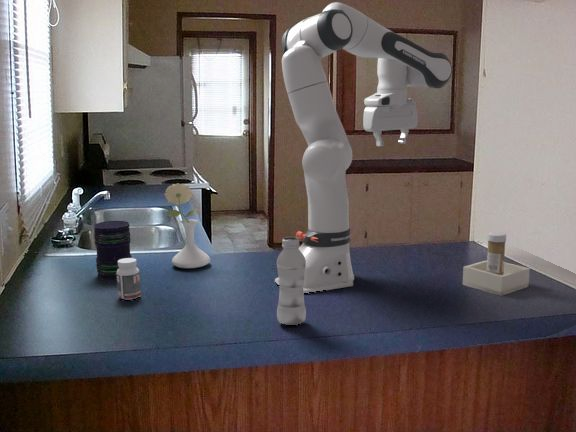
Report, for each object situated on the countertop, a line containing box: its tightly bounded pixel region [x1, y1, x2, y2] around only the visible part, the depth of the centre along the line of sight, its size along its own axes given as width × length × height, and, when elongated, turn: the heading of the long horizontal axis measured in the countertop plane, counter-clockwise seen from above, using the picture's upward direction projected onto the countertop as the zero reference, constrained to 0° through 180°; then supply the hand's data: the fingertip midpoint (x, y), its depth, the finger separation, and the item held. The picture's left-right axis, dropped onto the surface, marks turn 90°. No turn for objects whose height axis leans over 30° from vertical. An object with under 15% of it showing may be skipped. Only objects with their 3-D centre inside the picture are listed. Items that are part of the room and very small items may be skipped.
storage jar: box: [93, 220, 133, 281], centre depth 190 cm, size 10×10×15 cm
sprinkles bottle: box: [486, 231, 507, 275], centre depth 176 cm, size 5×5×14 cm
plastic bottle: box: [276, 236, 307, 326], centre depth 151 cm, size 6×7×20 cm
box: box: [462, 259, 531, 297], centre depth 178 cm, size 12×12×5 cm
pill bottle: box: [116, 257, 142, 299], centre depth 171 cm, size 6×6×10 cm
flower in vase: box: [163, 182, 211, 269], centre depth 198 cm, size 13×11×25 cm
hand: (391, 144), depth 204 cm, fingers open, 8 cm apart
